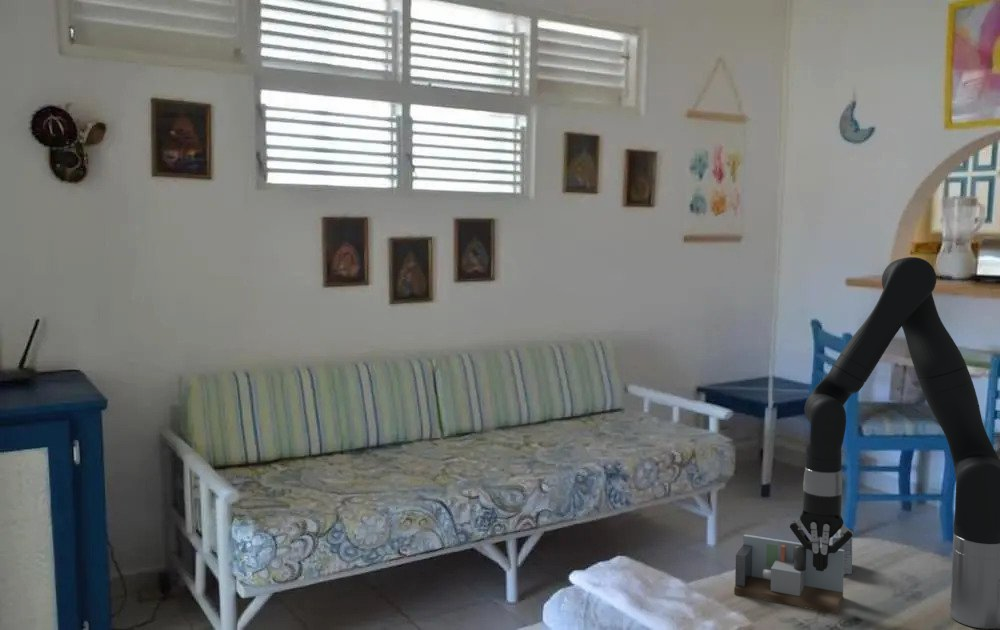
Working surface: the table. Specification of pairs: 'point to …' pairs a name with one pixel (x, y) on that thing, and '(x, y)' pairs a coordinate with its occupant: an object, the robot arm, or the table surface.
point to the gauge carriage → (788, 572)
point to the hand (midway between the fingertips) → (820, 569)
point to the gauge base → (808, 597)
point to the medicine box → (847, 552)
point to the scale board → (770, 551)
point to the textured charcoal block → (743, 566)
